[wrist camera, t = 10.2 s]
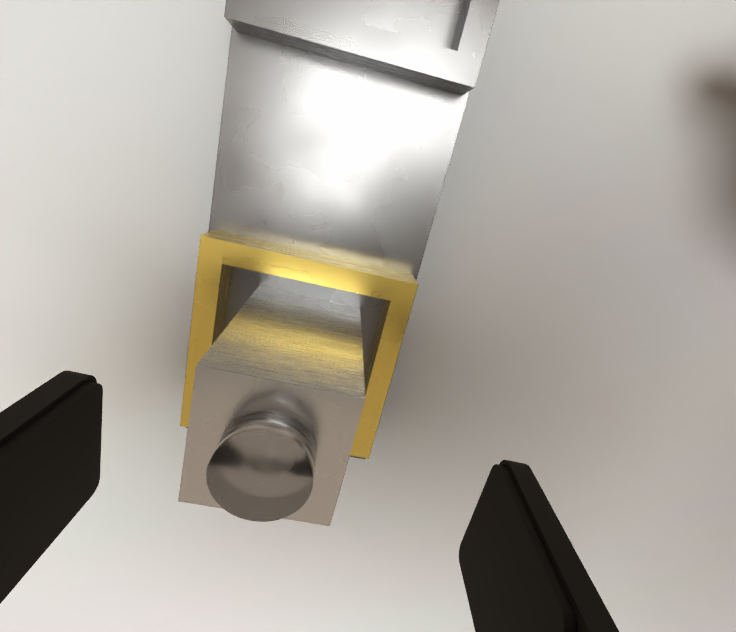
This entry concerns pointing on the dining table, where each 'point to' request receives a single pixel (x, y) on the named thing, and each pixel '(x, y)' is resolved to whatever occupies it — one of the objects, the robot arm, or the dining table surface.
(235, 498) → the knobbed metal block
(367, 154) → the grey flat elongated piece
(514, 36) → the dining table surface
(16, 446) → the robot arm
